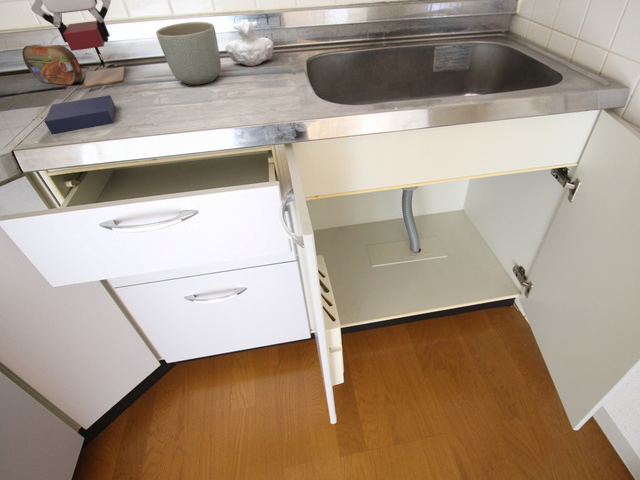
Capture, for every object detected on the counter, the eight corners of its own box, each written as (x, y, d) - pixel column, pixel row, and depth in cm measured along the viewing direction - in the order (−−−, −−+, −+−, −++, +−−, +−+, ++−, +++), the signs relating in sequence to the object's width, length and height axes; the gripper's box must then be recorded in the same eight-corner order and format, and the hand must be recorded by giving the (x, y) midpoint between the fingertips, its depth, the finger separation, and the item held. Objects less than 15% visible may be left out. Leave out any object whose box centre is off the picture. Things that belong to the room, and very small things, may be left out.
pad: (83, 88, 93) (82, 86, 93) (88, 74, 101) (87, 72, 101) (123, 82, 95) (122, 79, 95) (125, 68, 103) (124, 66, 103)
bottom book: (51, 134, 75) (44, 121, 73) (58, 116, 81) (51, 104, 79) (113, 123, 77) (107, 110, 75) (115, 107, 83) (110, 95, 82)
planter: (164, 89, 90) (145, 36, 82) (186, 71, 99) (171, 22, 91) (215, 89, 88) (200, 35, 81) (233, 71, 97) (221, 21, 90)
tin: (34, 82, 98) (13, 45, 92) (45, 78, 100) (25, 41, 94) (80, 86, 94) (61, 48, 88) (90, 82, 96) (72, 44, 90)
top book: (71, 51, 88) (62, 33, 86) (76, 40, 95) (68, 24, 93) (103, 46, 90) (96, 29, 88) (106, 36, 97) (99, 20, 95)
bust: (231, 75, 102) (221, 44, 91) (227, 49, 103) (217, 16, 92) (277, 70, 103) (273, 39, 92) (273, 44, 104) (268, 11, 93)
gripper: (93, -58, 85) (128, 34, 97) (2, -51, 81) (51, 44, 93) (90, -56, 80) (128, 41, 92) (-8, -48, 76) (46, 52, 88)
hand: (89, 42), depth 93 cm, fingers closed on top book, 6 cm apart
